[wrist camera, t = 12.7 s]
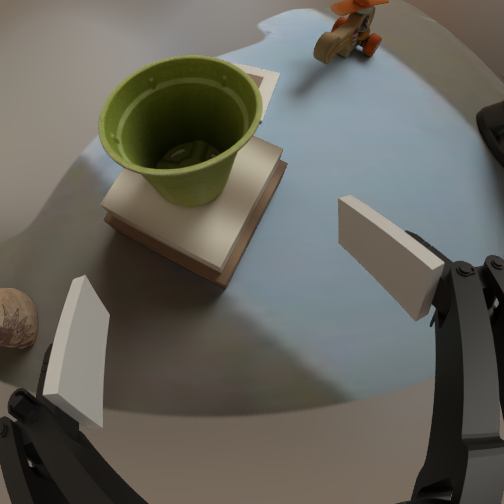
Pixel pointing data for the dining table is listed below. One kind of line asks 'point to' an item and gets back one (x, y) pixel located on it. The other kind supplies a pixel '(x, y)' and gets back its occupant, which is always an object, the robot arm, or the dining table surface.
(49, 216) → the dining table surface
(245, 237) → the stacked square slabs
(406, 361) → the dining table surface
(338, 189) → the dining table surface
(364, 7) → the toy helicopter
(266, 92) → the page
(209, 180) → the plant pot
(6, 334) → the figurine
